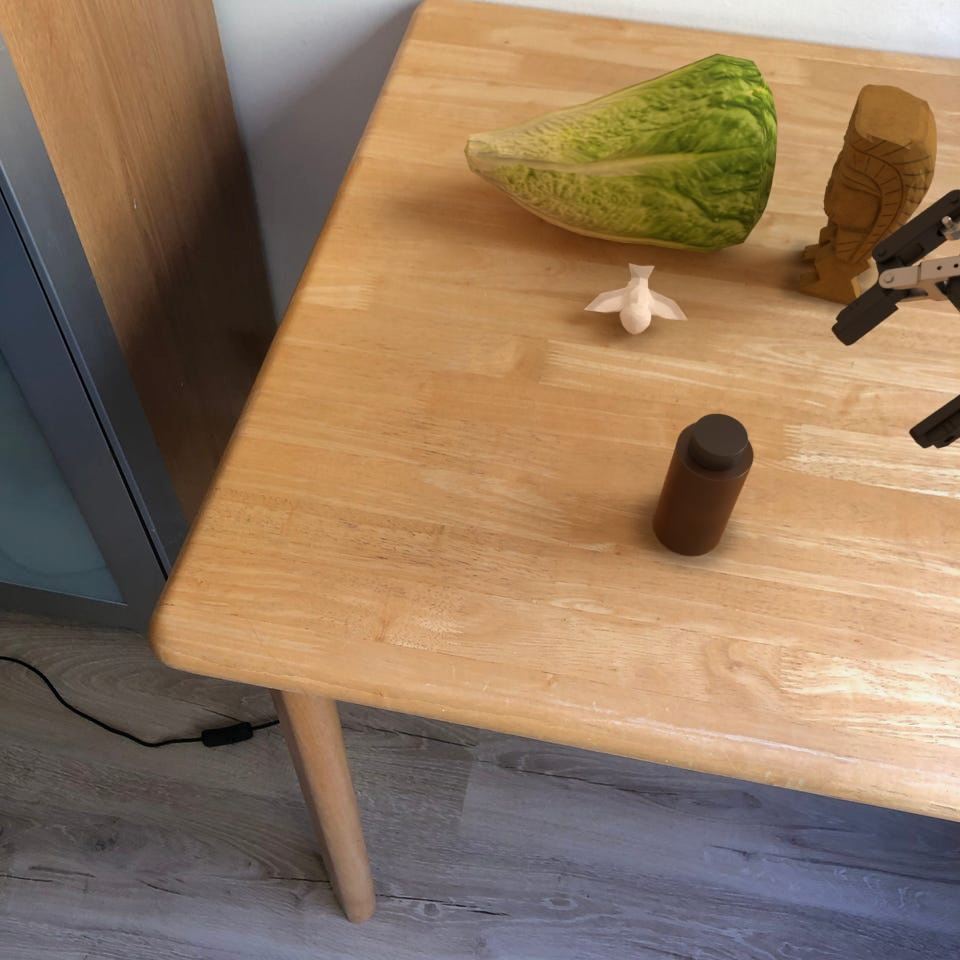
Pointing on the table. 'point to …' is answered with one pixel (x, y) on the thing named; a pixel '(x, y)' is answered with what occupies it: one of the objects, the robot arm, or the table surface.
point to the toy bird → (637, 302)
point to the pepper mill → (702, 484)
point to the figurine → (871, 188)
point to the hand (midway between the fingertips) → (876, 387)
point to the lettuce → (646, 159)
